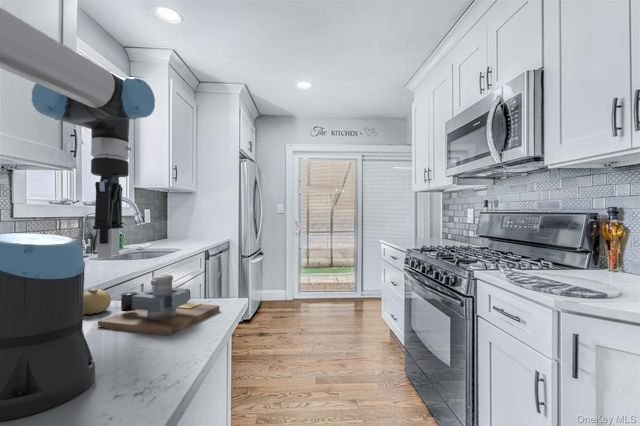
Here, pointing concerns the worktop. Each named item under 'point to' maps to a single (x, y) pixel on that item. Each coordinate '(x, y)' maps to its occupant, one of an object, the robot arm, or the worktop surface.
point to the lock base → (158, 326)
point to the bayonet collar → (154, 300)
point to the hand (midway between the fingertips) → (108, 256)
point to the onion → (95, 301)
